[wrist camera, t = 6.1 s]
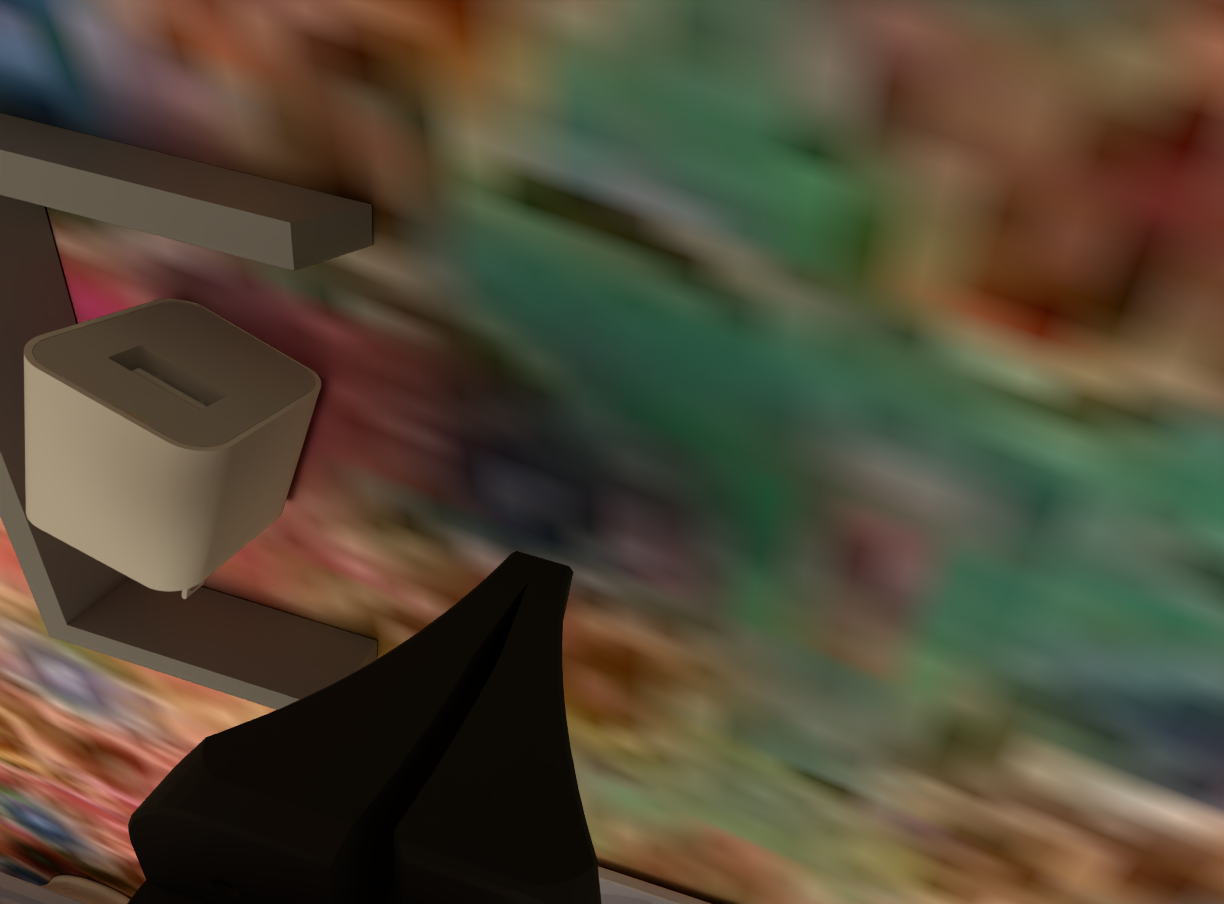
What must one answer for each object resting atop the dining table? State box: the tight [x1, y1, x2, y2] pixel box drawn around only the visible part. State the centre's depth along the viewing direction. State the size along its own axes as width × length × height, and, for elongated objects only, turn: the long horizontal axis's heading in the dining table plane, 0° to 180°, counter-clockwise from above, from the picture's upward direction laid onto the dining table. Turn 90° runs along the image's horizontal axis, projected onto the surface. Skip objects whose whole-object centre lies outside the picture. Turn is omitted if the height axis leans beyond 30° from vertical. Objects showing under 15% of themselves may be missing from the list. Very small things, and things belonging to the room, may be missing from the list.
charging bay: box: [0, 113, 377, 710], centre depth 15 cm, size 14×9×2 cm, turn 169°
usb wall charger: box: [24, 299, 321, 599], centre depth 14 cm, size 4×7×4 cm, turn 151°
